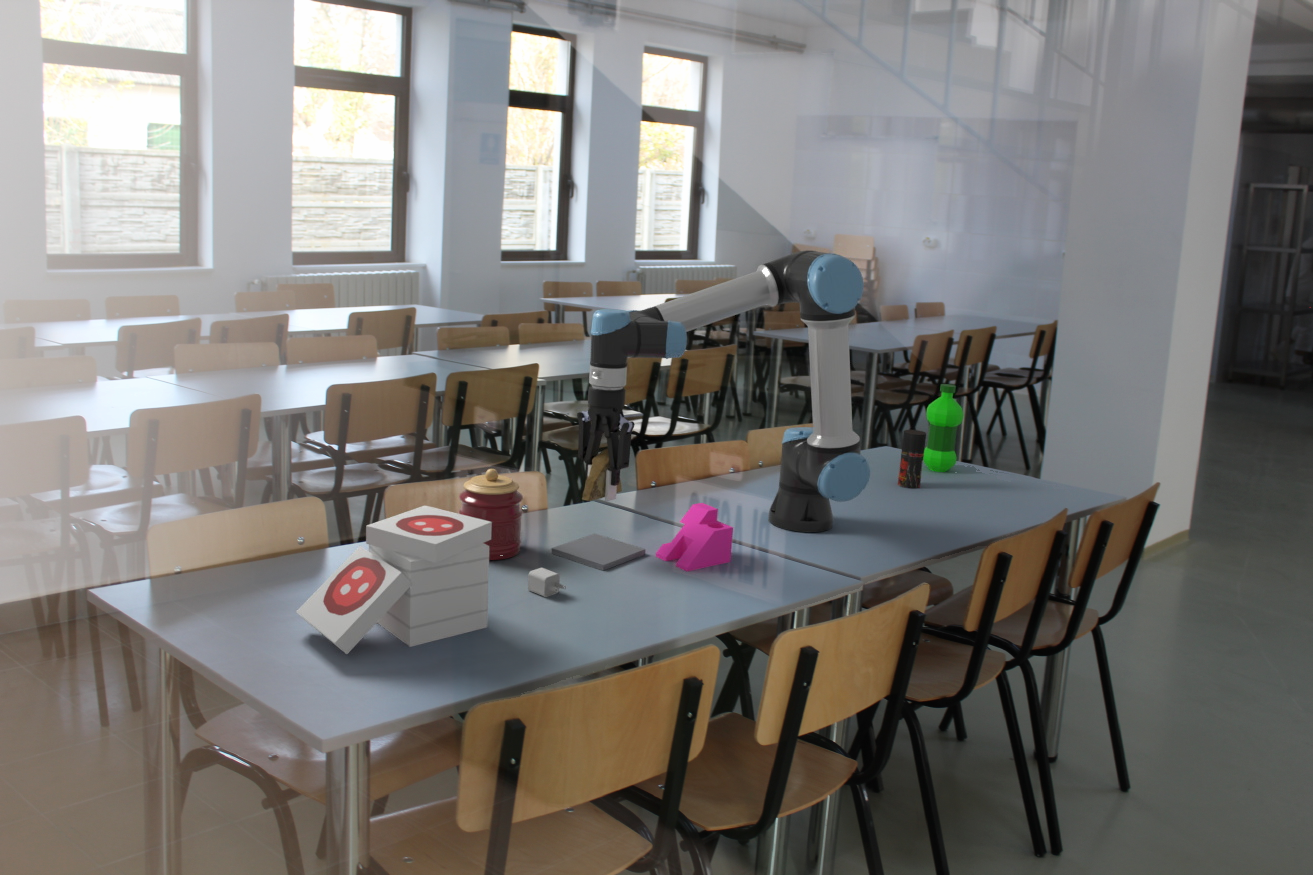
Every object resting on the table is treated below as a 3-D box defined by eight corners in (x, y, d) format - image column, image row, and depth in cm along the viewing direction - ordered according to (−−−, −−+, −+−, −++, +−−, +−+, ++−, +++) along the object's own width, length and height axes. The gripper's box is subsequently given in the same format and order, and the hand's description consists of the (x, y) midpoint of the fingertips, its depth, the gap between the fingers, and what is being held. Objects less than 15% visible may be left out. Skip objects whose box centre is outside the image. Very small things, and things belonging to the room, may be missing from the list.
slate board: (645, 554, 230) (645, 549, 230) (603, 570, 219) (603, 564, 219) (594, 538, 238) (594, 533, 238) (551, 553, 227) (551, 547, 227)
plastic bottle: (921, 472, 313) (931, 387, 307) (919, 463, 323) (929, 380, 317) (957, 475, 311) (968, 390, 306) (953, 467, 321) (964, 383, 316)
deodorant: (921, 489, 295) (928, 435, 292) (900, 487, 295) (906, 434, 292) (917, 483, 301) (923, 430, 297) (895, 481, 301) (901, 429, 297)
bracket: (698, 547, 237) (702, 502, 234) (730, 562, 229) (734, 515, 226) (655, 556, 229) (658, 510, 227) (686, 572, 222) (690, 523, 219)
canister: (445, 548, 226) (446, 466, 222) (494, 536, 235) (496, 457, 231) (484, 565, 217) (486, 481, 213) (533, 552, 227) (536, 471, 223)
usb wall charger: (542, 586, 209) (543, 566, 208) (568, 596, 205) (569, 576, 204) (527, 591, 206) (528, 571, 205) (553, 602, 202) (554, 581, 201)
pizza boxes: (291, 629, 183) (289, 527, 179) (448, 594, 202) (450, 501, 198) (341, 671, 169) (340, 561, 165) (505, 629, 188) (508, 530, 184)
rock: (587, 493, 217) (632, 478, 221) (570, 458, 221) (614, 444, 224) (581, 518, 226) (624, 503, 230) (565, 484, 230) (607, 470, 233)
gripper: (562, 381, 222) (558, 491, 228) (629, 395, 212) (622, 509, 218) (586, 377, 228) (581, 484, 233) (652, 391, 218) (645, 502, 224)
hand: (601, 496), depth 226 cm, fingers closed on rock, 4 cm apart
